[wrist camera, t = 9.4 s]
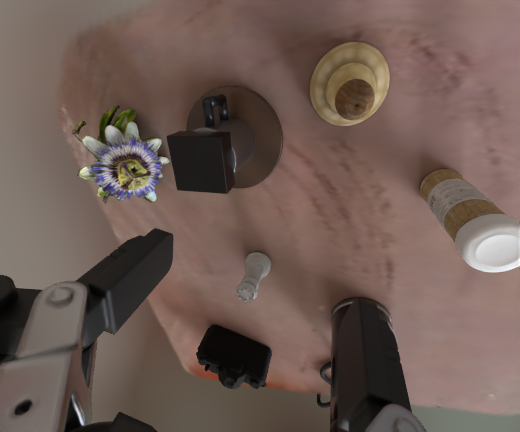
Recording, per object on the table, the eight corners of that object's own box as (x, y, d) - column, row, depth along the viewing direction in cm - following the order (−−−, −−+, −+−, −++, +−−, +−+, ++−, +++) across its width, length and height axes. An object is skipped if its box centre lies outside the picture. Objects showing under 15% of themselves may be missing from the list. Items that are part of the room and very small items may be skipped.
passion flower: (182, 149, 44) (170, 212, 38) (120, 152, 45) (100, 215, 39) (150, 89, 34) (128, 164, 28) (72, 96, 35) (36, 169, 29)
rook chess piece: (255, 274, 46) (241, 310, 39) (241, 255, 44) (224, 288, 37) (277, 267, 44) (265, 304, 37) (263, 247, 42) (249, 280, 36)
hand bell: (394, 112, 29) (445, 148, 15) (319, 134, 32) (307, 182, 18) (382, 26, 26) (433, -23, 12) (301, 61, 29) (269, 53, 15)
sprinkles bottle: (454, 204, 32) (520, 279, 20) (413, 200, 33) (454, 269, 21) (469, 168, 30) (551, 229, 18) (424, 165, 31) (476, 221, 19)
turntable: (271, 195, 38) (269, 199, 36) (188, 172, 39) (184, 174, 38) (294, 99, 31) (292, 100, 30) (193, 75, 32) (188, 75, 31)
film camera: (203, 344, 60) (183, 384, 52) (211, 319, 55) (190, 359, 47) (264, 371, 59) (253, 416, 51) (277, 349, 54) (268, 394, 46)
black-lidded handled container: (256, 166, 35) (230, 196, 26) (213, 164, 36) (175, 192, 28) (252, 92, 30) (220, 100, 22) (204, 93, 32) (156, 101, 23)
